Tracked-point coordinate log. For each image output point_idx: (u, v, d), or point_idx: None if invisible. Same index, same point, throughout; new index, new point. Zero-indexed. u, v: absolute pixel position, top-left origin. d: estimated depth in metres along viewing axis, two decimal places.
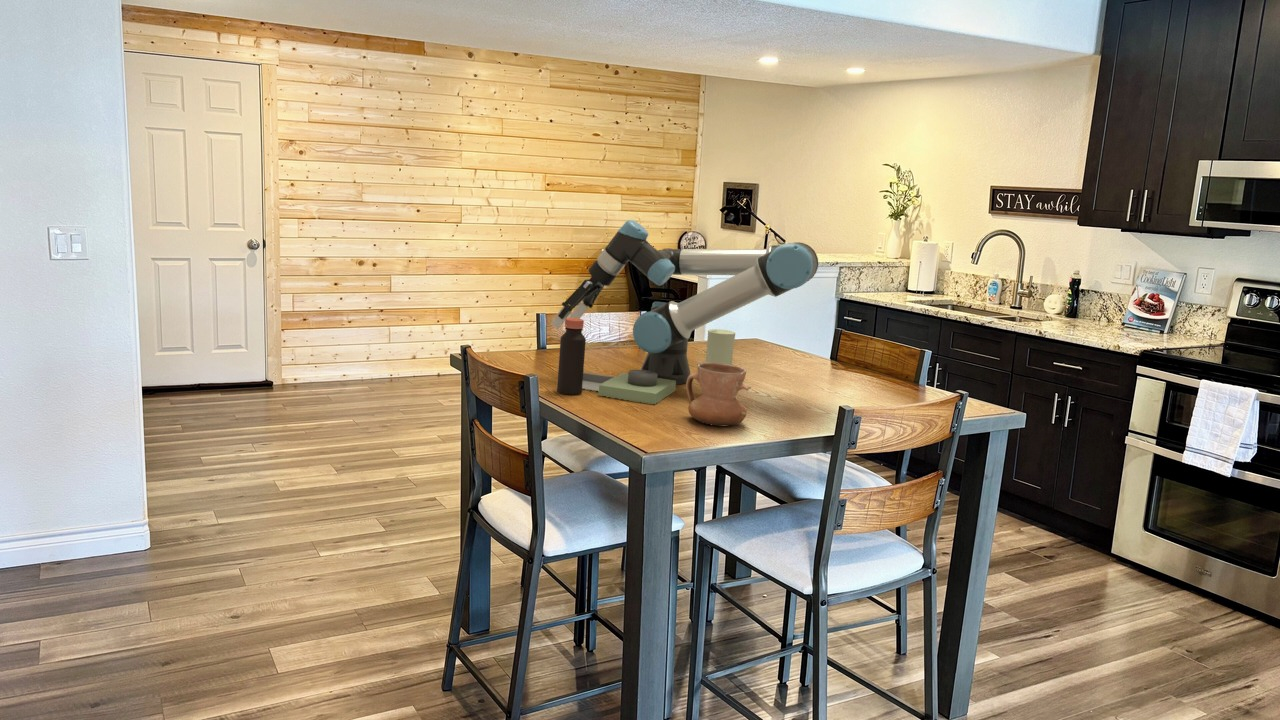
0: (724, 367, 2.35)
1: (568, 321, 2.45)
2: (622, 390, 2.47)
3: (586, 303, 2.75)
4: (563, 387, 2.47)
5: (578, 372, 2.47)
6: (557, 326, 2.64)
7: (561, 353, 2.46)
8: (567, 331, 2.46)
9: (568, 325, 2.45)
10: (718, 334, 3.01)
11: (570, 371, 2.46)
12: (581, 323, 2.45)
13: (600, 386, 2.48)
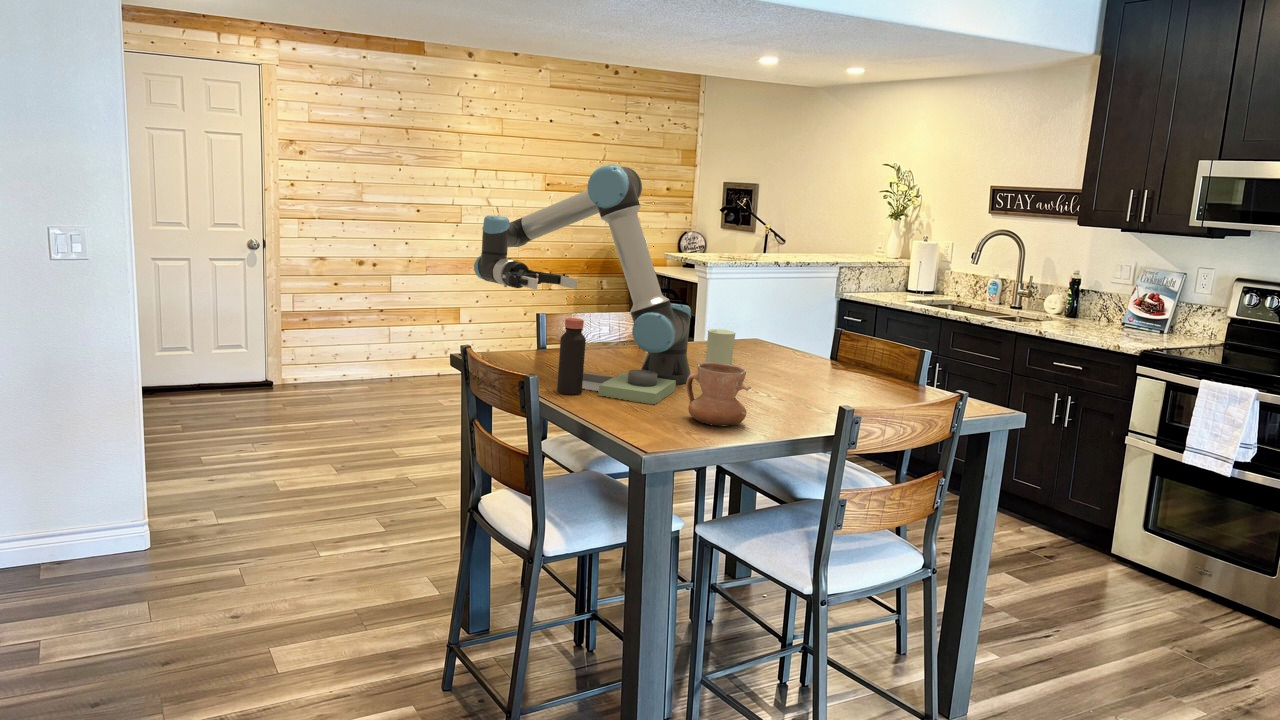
0: (724, 367, 2.35)
1: (568, 321, 2.45)
2: (622, 390, 2.47)
3: None
4: (563, 387, 2.47)
5: (578, 372, 2.47)
6: (534, 280, 2.48)
7: (561, 353, 2.46)
8: (567, 331, 2.46)
9: (568, 325, 2.45)
10: (718, 334, 3.01)
11: (570, 371, 2.46)
12: (581, 323, 2.45)
13: (600, 386, 2.48)
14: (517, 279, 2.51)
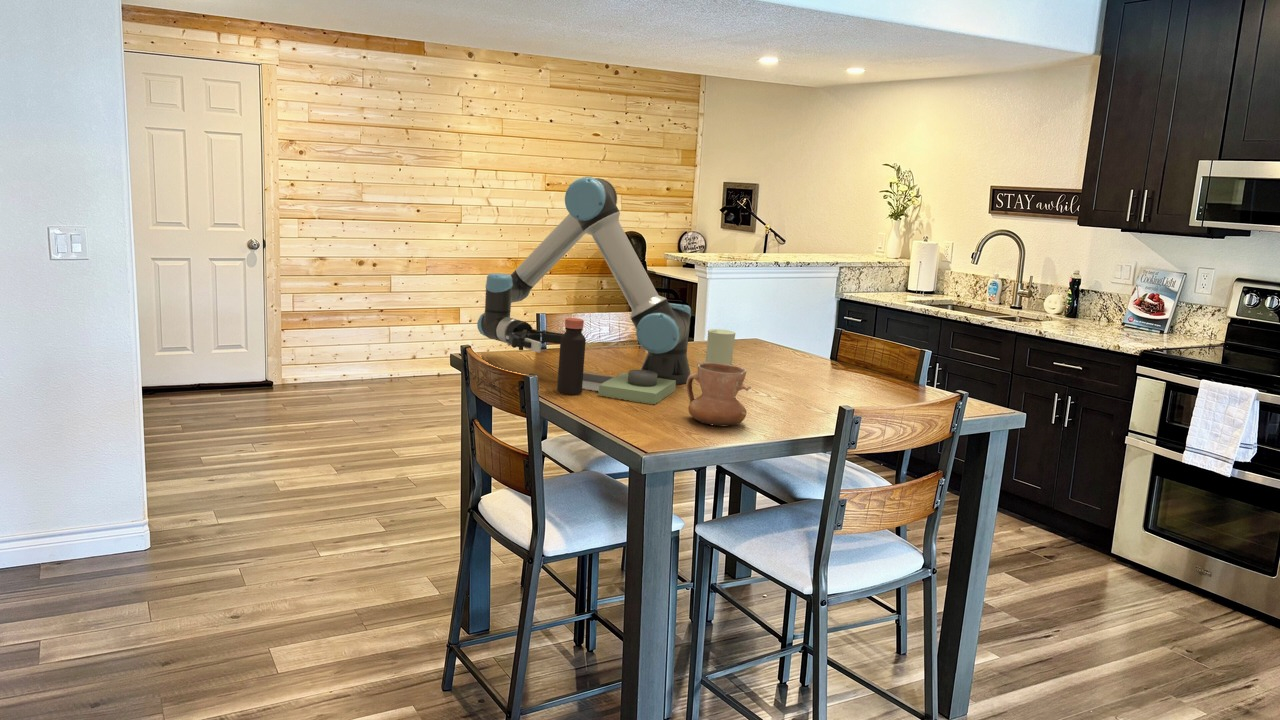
0: (724, 367, 2.35)
1: (568, 321, 2.45)
2: (622, 390, 2.47)
3: None
4: (563, 387, 2.47)
5: (578, 372, 2.47)
6: (537, 344, 2.47)
7: (561, 353, 2.46)
8: (567, 331, 2.46)
9: (568, 325, 2.45)
10: (718, 334, 3.01)
11: (570, 371, 2.46)
12: (581, 323, 2.45)
13: (600, 386, 2.48)
14: (520, 341, 2.50)
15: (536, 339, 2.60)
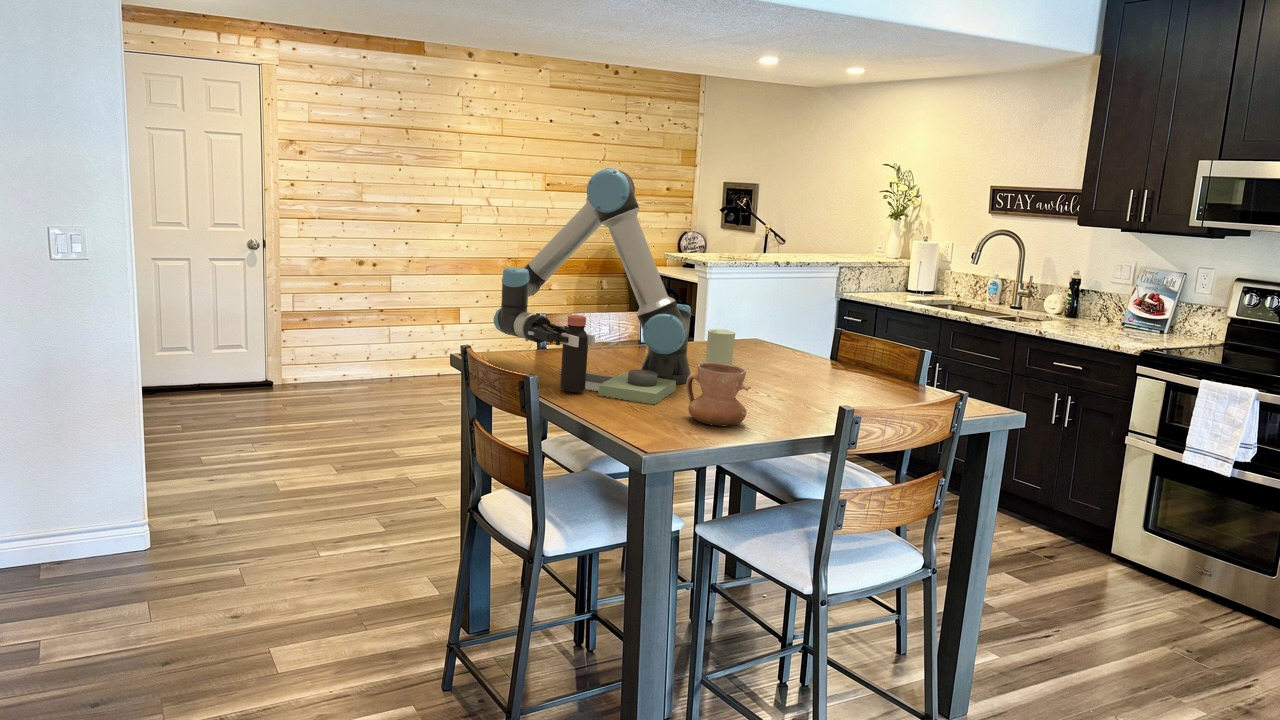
0: (724, 367, 2.35)
1: (569, 318, 2.45)
2: (622, 390, 2.47)
3: None
4: (564, 384, 2.48)
5: (579, 369, 2.47)
6: (575, 338, 2.42)
7: (563, 350, 2.47)
8: (569, 328, 2.46)
9: (569, 322, 2.45)
10: (718, 334, 3.01)
11: (570, 368, 2.46)
12: (582, 320, 2.45)
13: (600, 386, 2.48)
14: (557, 336, 2.45)
15: None
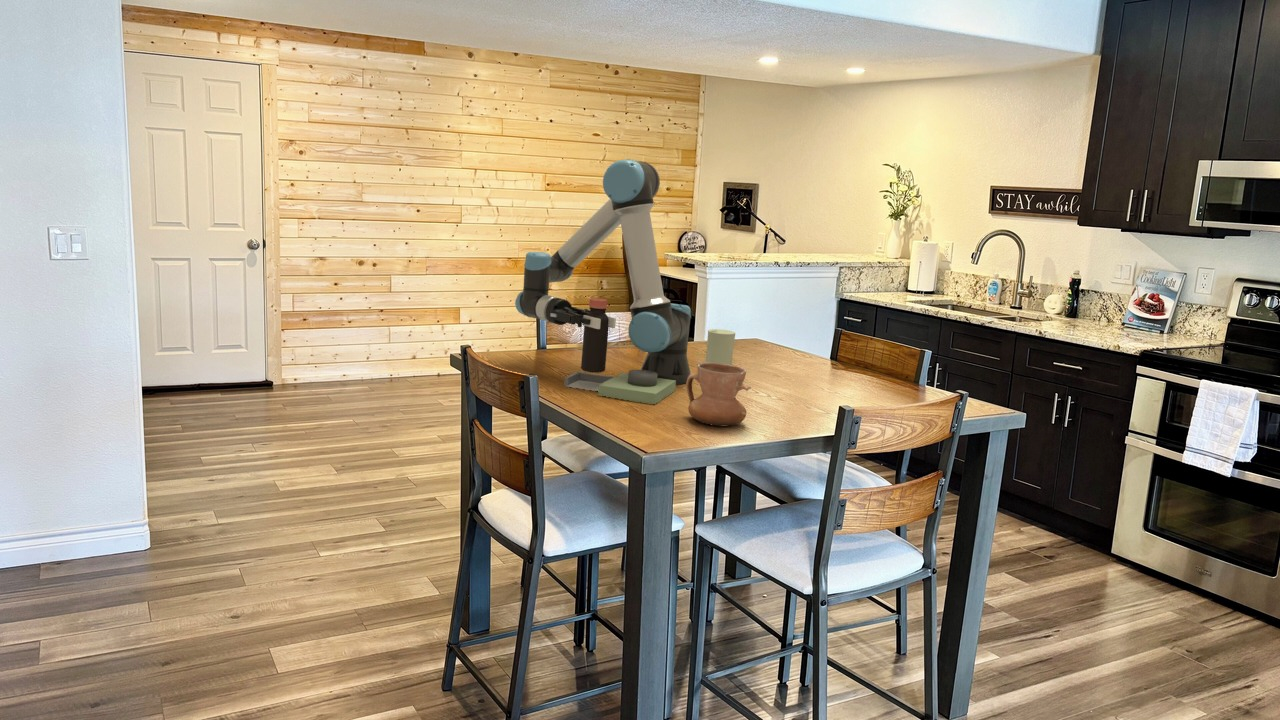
0: (724, 367, 2.35)
1: (591, 301, 2.53)
2: (622, 390, 2.47)
3: None
4: (585, 364, 2.56)
5: (600, 351, 2.55)
6: (597, 320, 2.50)
7: (584, 331, 2.55)
8: (590, 310, 2.54)
9: (591, 305, 2.53)
10: (718, 334, 3.01)
11: (591, 349, 2.54)
12: (604, 303, 2.53)
13: (600, 386, 2.48)
14: (579, 318, 2.53)
15: None
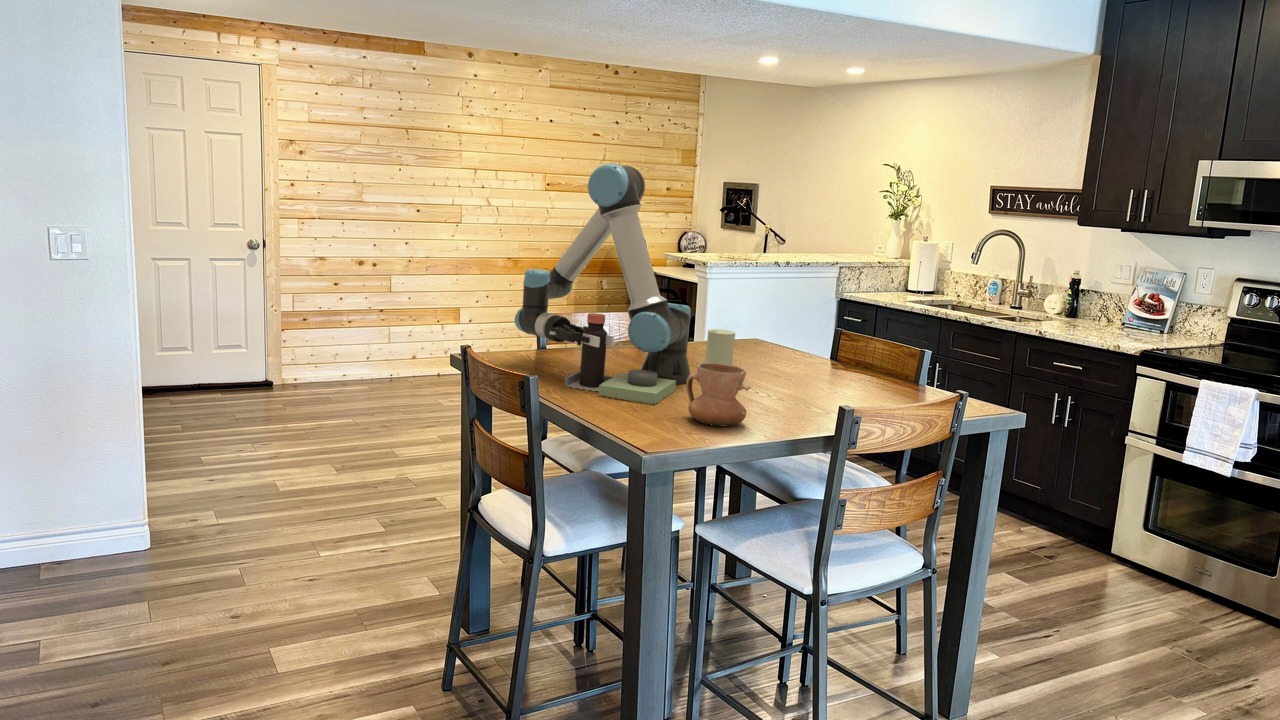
0: (724, 367, 2.35)
1: (589, 316, 2.55)
2: (622, 390, 2.47)
3: None
4: (582, 379, 2.57)
5: (597, 365, 2.56)
6: (596, 339, 2.51)
7: (582, 346, 2.57)
8: (588, 325, 2.56)
9: (589, 319, 2.55)
10: (718, 334, 3.01)
11: (588, 364, 2.55)
12: (601, 318, 2.54)
13: (600, 386, 2.48)
14: (579, 337, 2.55)
15: None
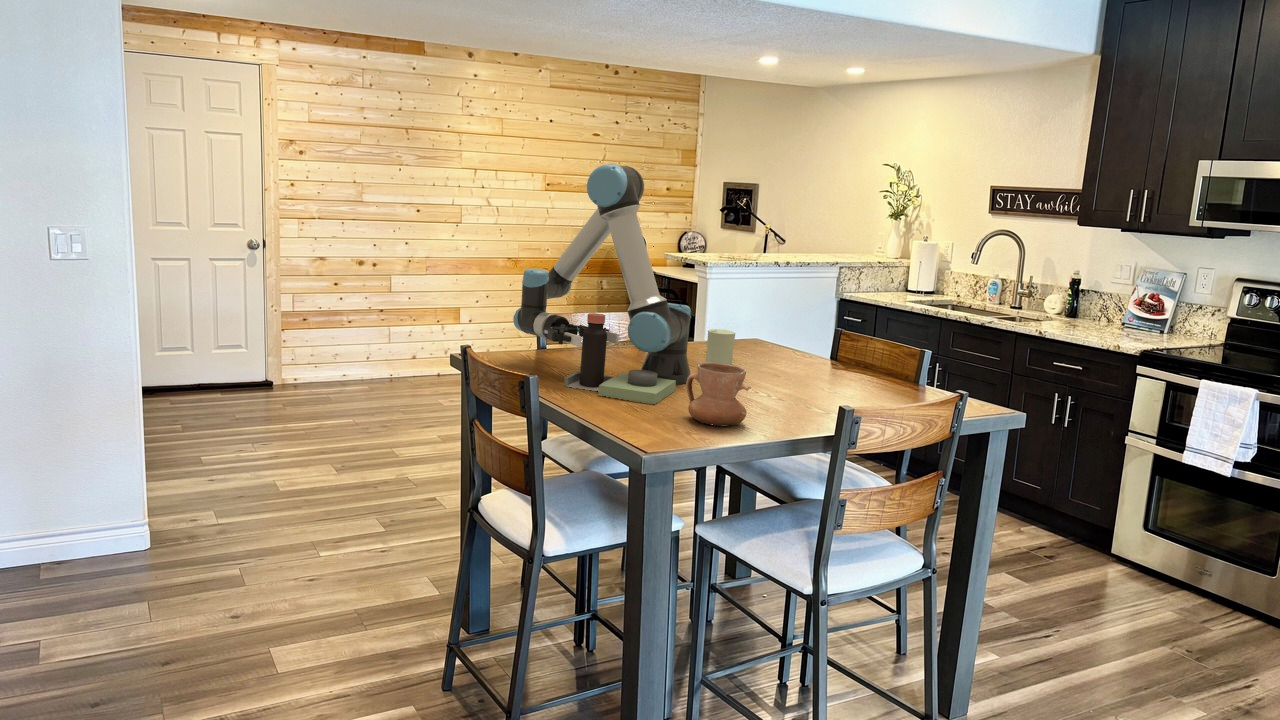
0: (724, 367, 2.35)
1: (589, 316, 2.55)
2: (622, 390, 2.47)
3: None
4: (582, 379, 2.57)
5: (597, 365, 2.56)
6: (577, 338, 2.50)
7: (582, 346, 2.57)
8: (588, 325, 2.56)
9: (589, 319, 2.55)
10: (718, 334, 3.01)
11: (588, 364, 2.55)
12: (601, 318, 2.55)
13: (600, 386, 2.48)
14: (560, 336, 2.54)
15: (574, 333, 2.64)
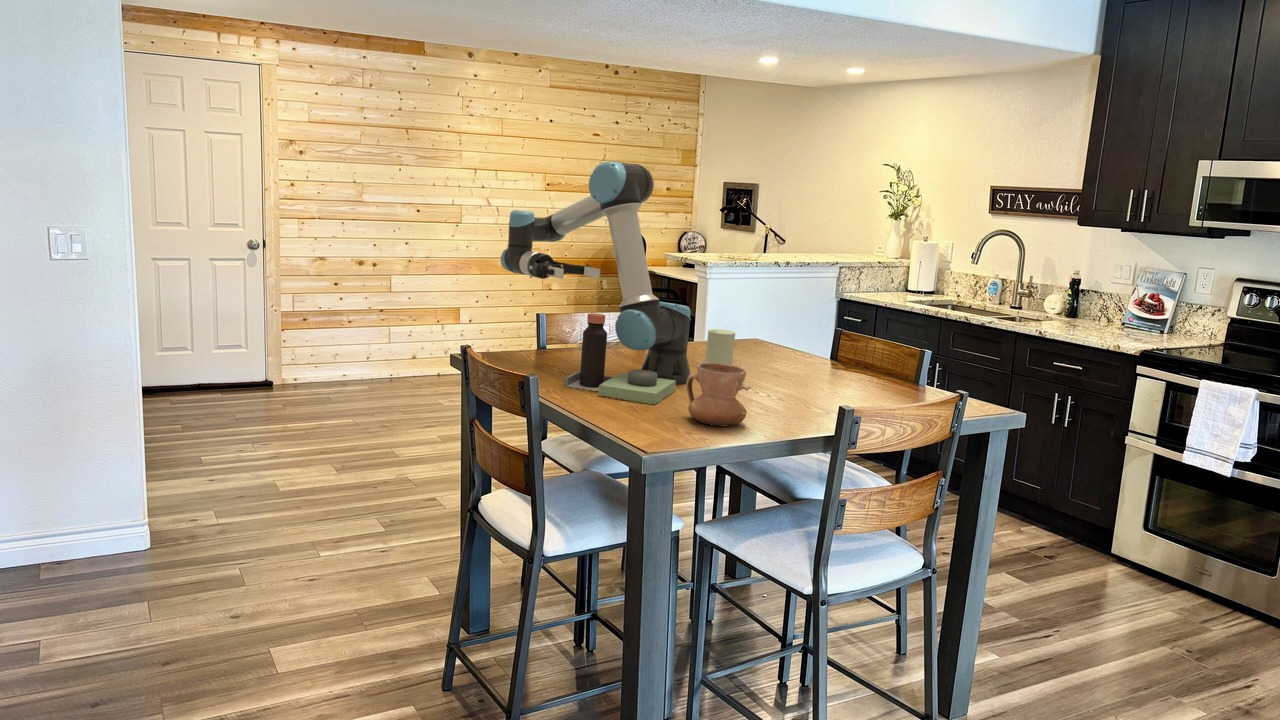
0: (724, 367, 2.35)
1: (589, 316, 2.55)
2: (622, 390, 2.47)
3: None
4: (582, 379, 2.57)
5: (597, 365, 2.56)
6: (560, 270, 2.62)
7: (582, 346, 2.57)
8: (588, 325, 2.56)
9: (589, 319, 2.55)
10: (718, 334, 3.01)
11: (588, 364, 2.55)
12: (601, 318, 2.54)
13: (600, 386, 2.48)
14: (544, 269, 2.66)
15: None
